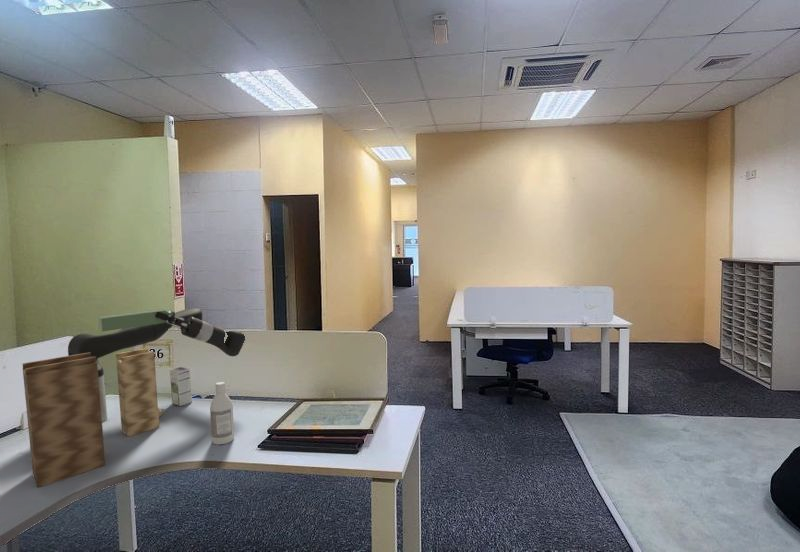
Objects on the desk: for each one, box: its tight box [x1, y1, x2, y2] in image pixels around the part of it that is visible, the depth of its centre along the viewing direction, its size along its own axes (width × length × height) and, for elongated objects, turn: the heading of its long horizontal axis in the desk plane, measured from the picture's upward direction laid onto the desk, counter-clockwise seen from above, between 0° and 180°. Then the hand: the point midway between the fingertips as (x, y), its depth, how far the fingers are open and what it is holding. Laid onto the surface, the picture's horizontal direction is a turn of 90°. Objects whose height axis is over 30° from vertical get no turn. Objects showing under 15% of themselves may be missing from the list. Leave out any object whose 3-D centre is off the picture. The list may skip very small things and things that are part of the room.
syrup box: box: [169, 366, 193, 407], centre depth 180 cm, size 6×6×14 cm
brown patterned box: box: [22, 352, 106, 488], centre depth 128 cm, size 16×10×34 cm, turn 136°
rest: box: [115, 347, 160, 437], centre depth 156 cm, size 10×8×28 cm
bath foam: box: [209, 381, 235, 446], centre depth 146 cm, size 7×7×20 cm
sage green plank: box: [98, 308, 176, 332], centre depth 155 cm, size 23×4×4 cm, turn 135°
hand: (154, 313), depth 158 cm, fingers closed on sage green plank, 4 cm apart
